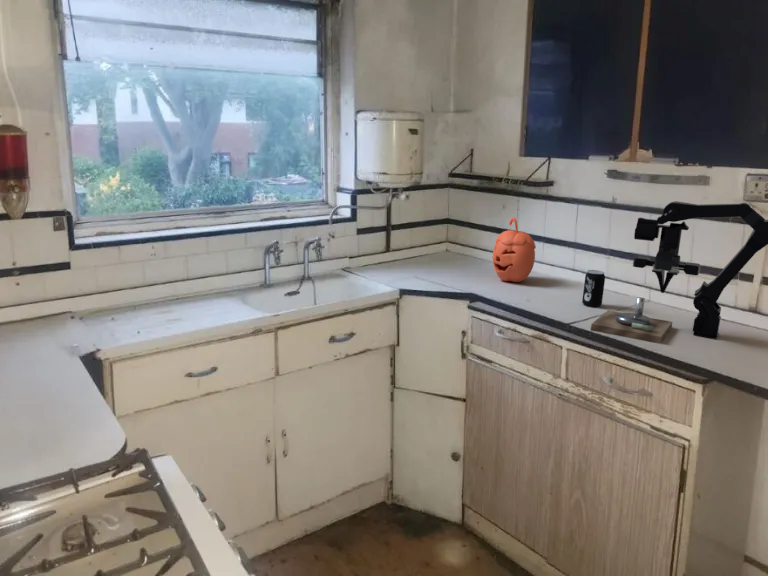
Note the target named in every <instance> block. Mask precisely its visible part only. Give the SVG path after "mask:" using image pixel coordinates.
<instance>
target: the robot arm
mask: <svg viewBox="0 0 768 576" xmlns="http://www.w3.org/2000/svg"><path fill="white" fill-rule="evenodd" d="M662 212H663V214H661V215H660V216H658V217H657V218H656V219H651V218H645V217H638V218H637V222H636V226H635V229H634V235H633V236H634V237H633V238H634V240H639V241H647V242H648V241H649V242H654V241H655V240H656V239H659V245H658V251H657V253H656V254H655V255H656V256H655V258H654V260H651V257H650V256H642V255H641V256H640V255H639V256H637V257H635V258H633V262H632V267H634V268H638V269H639V268H640V269H643V268H645V267H646V266H647V267H652V269H651V273H654V274H655V275H656V277H657V280H658V284H659V289H660V293H661V294H664V293H665V292H666V290H667V287H668V286H669V284H670V282H671V280H672V279H673V278H674V276H678V275H679V274H680V271H683V272H684V273H685V275H691V276H698V275H699V274H700V273H701V266H702V265H700V263H695V262H689V261H687V262H686V263H685V264H684V263H683V264H681V255H679V253H680V247H681V246H680V244H681V239H682V238H681V237H682V232H683V231H688V230H690V227H689V226H688V225H687V223H686V221H687V220H690V219H691V220H692V219H697V218H741V219H743V221H744V222H745V223H746V224H747V225H748V226H749V227H750V228H751V229H752V231H751V233H750V234H749V236H748V238H747V239H746V242H745V243H744V245H742V247H741V248H740V249H739V250H738V252H737V253H736V254H735V255H734V256H733V257H732V258H731V260H730V261H729V262H728V263H727V264H726V265H725V266H724V268H723V269H722V270H721V271H720V272H719V273H718V274H717V275H716V276H715V278H714V279H713V280H711V281H710V282H706V281H703V282H702V283H701V286H699V288H698V289H695V291H694V294H693V295H694V298H693V301H692V302H693V303H692V304H693V306H694V308H695V310H697V311H698V313H697V315H696V317H694V319H693V320H694V321H693V326H692V333H693V336H696V337H697V336H698V337H702V338H709V339H713V340H714V339H715V340H716V339H717V338H718V337H719V330H720V329H719V328H720V323H721V319H722V318H721V317H722V316H721V312H722V311H721V310H722V307H721V305H719V304H718V302H717V301H718V300H719V298H720V297H721V295H722V293H723V291H724V290H725V289H726V287H727V286H728V285H729V284H730V283H731V282H732V280H733V279H734V278H735V277H736V276H737V275H738V273H739V272H741V270H742V269H743V268H744V267H745V266H746V265H747V263H749V261H750V260H751V259H752V258H753V256H755V255H756V254H757V253H758V252H759V251H761V250H762V249H764V248H766V246H767V245H768V219H765V218H764V217H763V216H762V215H761V214H760V213H758V211H756V210H755V209H754V208H752V206H751V205H750V204H749V203H747V202H740V203H719V204H718V203H711V204H706V203H705V204H697V203H696V204H695V203H690V202H683V201H677V200H676V201H671V202H668V204H666V206H664V209H663V211H662ZM681 221H682V222H681ZM668 222H669V223H670V224H669V225H668V224H667V225H665V224H666V223H668ZM677 222H681V223H677ZM660 229H661V231H660ZM660 232H661V233H660ZM659 234H660V235H659ZM659 236H660V238H659ZM665 273H666V274H665Z"/></svg>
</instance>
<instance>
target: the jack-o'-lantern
mask: <svg viewBox="0 0 768 576" xmlns="http://www.w3.org/2000/svg"><path fill="white" fill-rule="evenodd" d="M512 223H514V227H515V228H514V229H515V230H511V229H508V230H504V231H502V232H500V234H499V235H498V236H497V237H496V239H495V244H494V246H493V247H494V248H493V251H492V256H491V257H492V264H493V268H494V271H495V273H496V275H497V277H498V278H499V279H500V280H502V281H504V282H514V283H519V282H522V281H524V280H526V278H527V277H529V275H530V274H531V272H532V271H533V269H534V268H533V267H534V264H535V261H536V260H535V259H536V251H535V249H537V248H536V247H537V246H536V243H535V240H534V239H533V238H532V236H531V235H529V234H528V233H526V231H522V230H521V231H520V230H519V229H518V228H519V227H518V221H517V219H516V217H514V216H512V218H510V220H509V222H508V224H509V226H512V225H513V224H512ZM518 230H519V231H518Z"/></svg>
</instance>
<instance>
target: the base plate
mask: <svg viewBox="0 0 768 576" xmlns="http://www.w3.org/2000/svg"><path fill="white" fill-rule="evenodd" d="M618 313H621V312H619V311H613V310H606V311H605V312H603V314H602V315H600V316H599V317H598V318H596V320H594V321H593V322H592V323H591V326H590V331H593V332H594V331H595V332H597V333H599V332H600V333H603V334H610V335H615V336H620V337H625V338H630V339H635V340H640V341H645V342H650V343H656V344H661V343H662V341H663V340H664V339H665V338H666V336H667V335H668V333H669V332H670V331H671V329H672V328H673V321H670V320H664V319H658V318H654V317H653V318H652V317H649V318H650V319H651V322H650V325H649V326H648V325H643V324H637V323H632V326H629V325H625V324H622V323H619V322H617V321H616V315H617V314H618Z"/></svg>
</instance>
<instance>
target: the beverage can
mask: <svg viewBox="0 0 768 576" xmlns="http://www.w3.org/2000/svg"><path fill="white" fill-rule="evenodd" d="M605 282H606V276H605V272H604V271H602V270H596V269H590V270H589V269H588V270H587V271H586V273H585V276H584V285H583V291H582V292H583V293H582V305H583V306H585V307H588V308H600V307H601V306H602V305H603V299H604V298H603V297H604V291H605V284H606V283H605Z"/></svg>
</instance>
